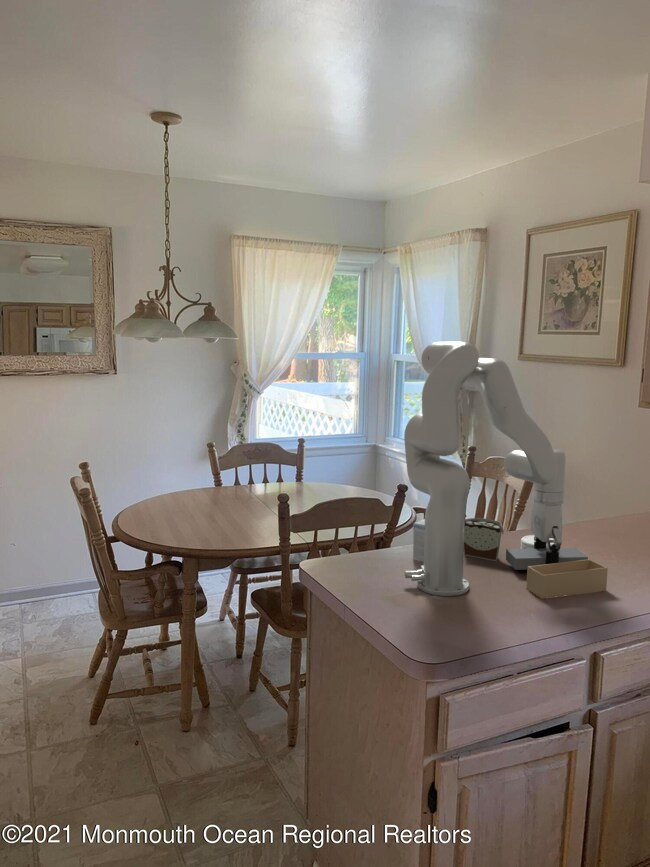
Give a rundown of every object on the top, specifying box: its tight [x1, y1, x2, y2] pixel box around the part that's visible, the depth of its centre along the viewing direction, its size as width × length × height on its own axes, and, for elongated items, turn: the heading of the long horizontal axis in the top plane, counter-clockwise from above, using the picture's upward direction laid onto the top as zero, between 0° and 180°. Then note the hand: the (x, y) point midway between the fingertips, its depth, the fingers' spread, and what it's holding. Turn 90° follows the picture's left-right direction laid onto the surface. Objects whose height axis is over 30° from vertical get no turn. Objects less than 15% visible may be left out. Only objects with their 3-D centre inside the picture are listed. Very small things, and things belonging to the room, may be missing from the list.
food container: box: [464, 517, 505, 562], centre depth 179 cm, size 12×6×10 cm, turn 58°
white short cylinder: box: [520, 534, 554, 549], centre depth 183 cm, size 10×10×4 cm
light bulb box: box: [412, 518, 425, 563], centre depth 177 cm, size 11×7×11 cm, turn 141°
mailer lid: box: [505, 547, 589, 571], centre depth 168 cm, size 19×8×3 cm, turn 93°
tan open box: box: [525, 558, 609, 599], centre depth 154 cm, size 18×6×6 cm, turn 106°
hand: (545, 560), depth 168 cm, fingers closed on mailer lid, 7 cm apart
